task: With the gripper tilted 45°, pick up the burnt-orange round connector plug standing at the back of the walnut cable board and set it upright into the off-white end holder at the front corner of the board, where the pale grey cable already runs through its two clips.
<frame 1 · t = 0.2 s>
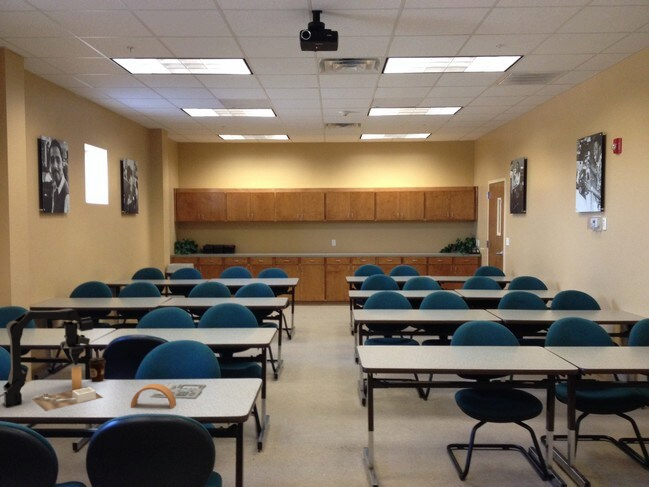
hand: (72, 363, 266), 15 cm above the table, tool pointing down, fingers open, 9 cm apart
coffee cup: (97, 382, 282), on the table
plug: (77, 391, 263), point 1 cm above the table, touching cable board
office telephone: (180, 392, 267), on the table
arch: (153, 406, 246), on the table
end holder: (84, 398, 253), resting on cable board
cable board: (67, 400, 254), on the table
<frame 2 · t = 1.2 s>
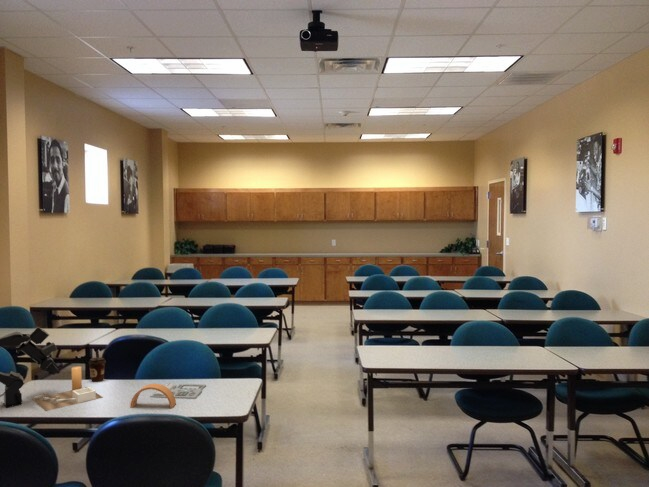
hand: (58, 370, 258), 13 cm above the table, tool tilted 45°, fingers open, 9 cm apart
nothing on the table moved.
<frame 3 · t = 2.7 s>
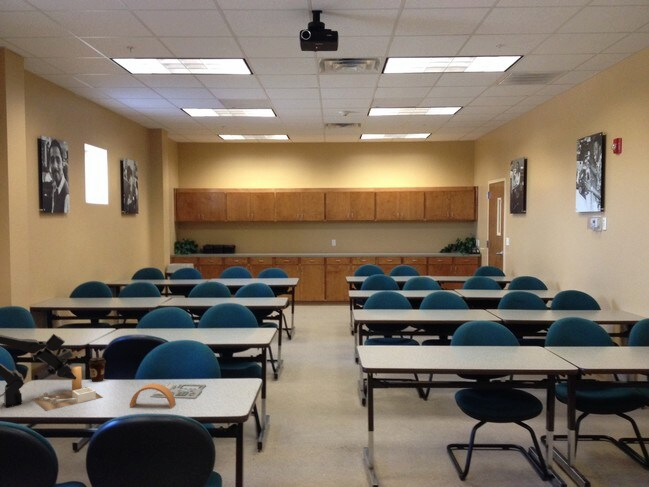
hand: (74, 376, 262), 9 cm above the table, tool tilted 45°, fingers open, 9 cm apart
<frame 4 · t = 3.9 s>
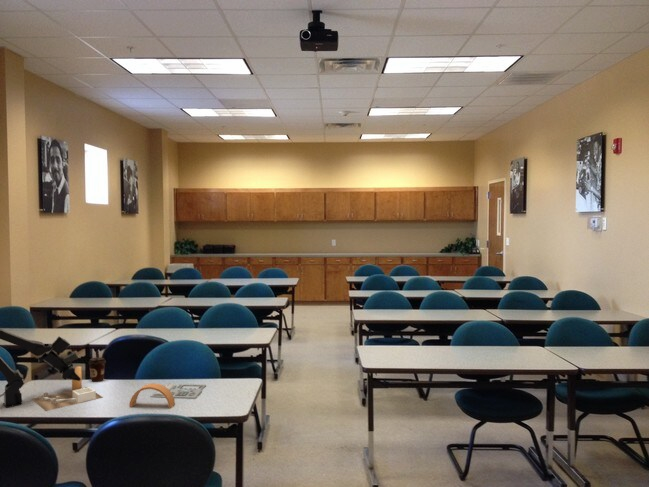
hand: (79, 378, 263), 8 cm above the table, tool tilted 45°, fingers closed on plug, 4 cm apart
plug: (77, 391, 263), point 1 cm above the table, touching cable board, gripper
everything else where it was.
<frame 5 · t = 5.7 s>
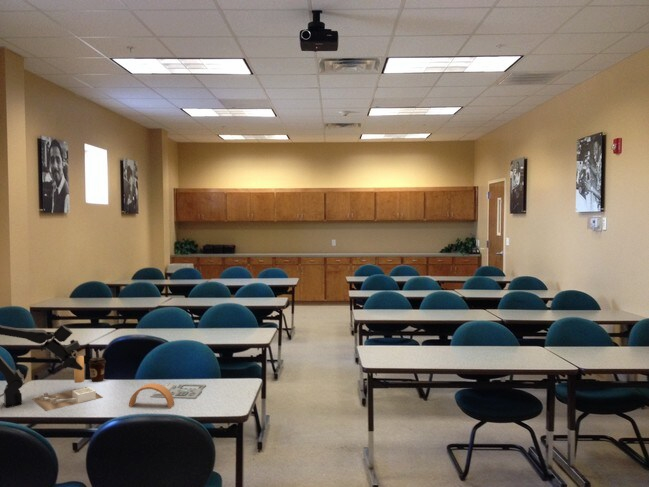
hand: (82, 368, 261), 14 cm above the table, tool tilted 45°, fingers closed on plug, 4 cm apart
plug: (79, 381, 261), point 7 cm above the table, touching gripper
when the fingers open (9 cm above the table, at t = 7.8 s): plug drops 1 cm, resting on end holder.
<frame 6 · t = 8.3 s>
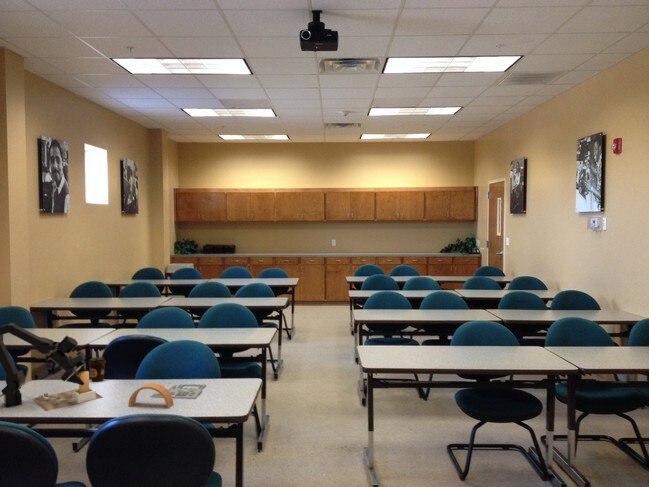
hand: (86, 381, 253), 10 cm above the table, tool tilted 45°, fingers open, 9 cm apart
plug: (84, 397, 253), point 2 cm above the table, touching end holder
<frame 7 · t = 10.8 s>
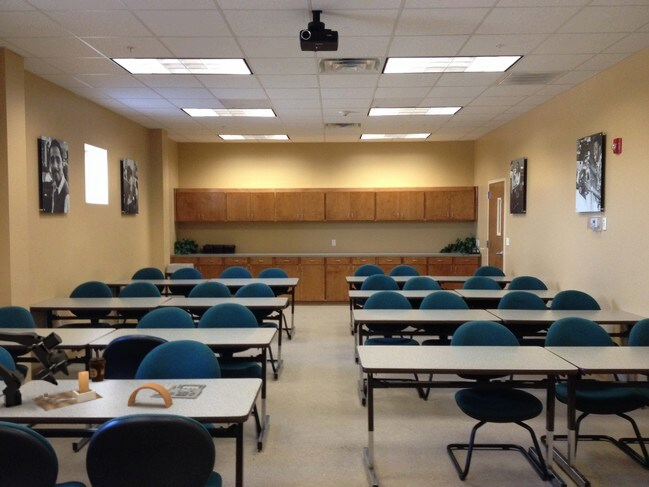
hand: (63, 380, 253), 10 cm above the table, tool tilted 35°, fingers open, 9 cm apart
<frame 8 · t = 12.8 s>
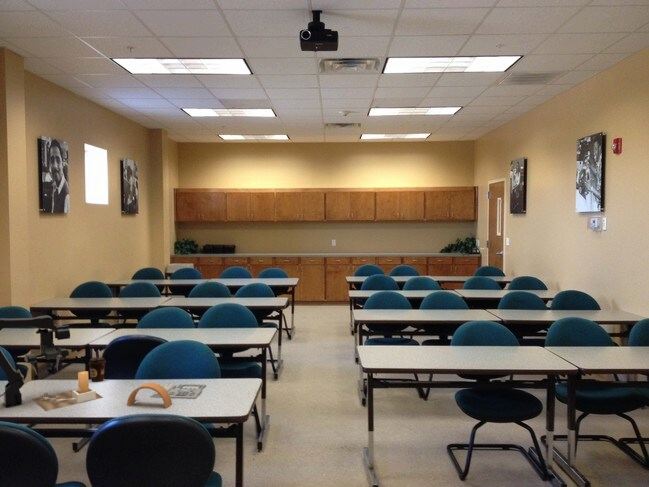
hand: (47, 372, 256), 13 cm above the table, tool pointing down, fingers open, 9 cm apart
at the end: plug 0.1 cm off-centre on the end holder, point 0.6 cm above the end holder's base; plug tilted 1°; the gripper is holding nothing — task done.
